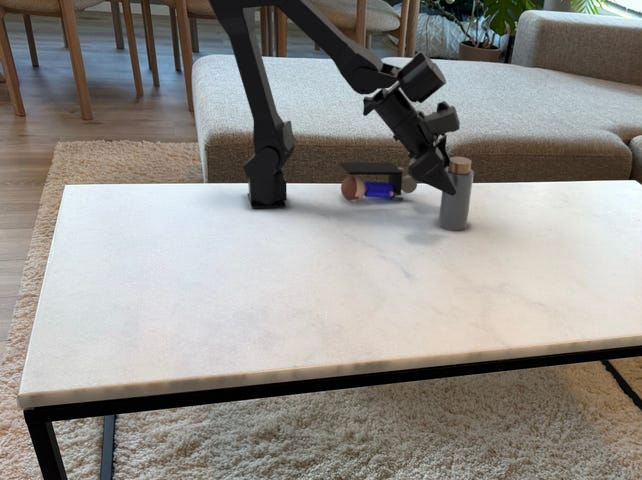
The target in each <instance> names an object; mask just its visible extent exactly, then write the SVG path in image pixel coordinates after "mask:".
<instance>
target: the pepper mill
mask: <svg viewBox="0 0 642 480" xmlns="http://www.w3.org/2000/svg"><path fill="white" fill-rule="evenodd" d="M472 163H473V162H472V160H471V159H470V158H467V157H464V156H450V159H449V166H448V167H446V168H445V169H444V170H445V172H446V174H447V175H448V177H449V179H450V181H451V182H452V184H453V186H454V188H455V190H456V194H455V195H453V196H451V195H449V194H447V193H445V192H443V191H441V196H440V197H441V198H440V205H439V214H438V223H437V224H438V226H440V228H442V229H445V230H448V231H453V232H454V231H456V232H457V231H458V232H459V231H463V230H466V228H467V227H468V219H469V211H470V204H471V196H472V191H473V190H472V189H473V183H474V175H475V171H474V170H473V169H472Z"/></svg>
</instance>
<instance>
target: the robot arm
mask: <svg viewBox="0 0 642 480" xmlns="http://www.w3.org/2000/svg"><path fill="white" fill-rule="evenodd" d="M207 1H208V3H209V6H210V8H211V10H212V12H213V14H214V16H215V19H216V20H217V22H218V24H219V25H220V26H221V28H222V29H223V30H224V32H225V33H226V34H227V37H228V39H229V42H230V45H231V50H232V52H233V56H234V59H235V62H236V66H237V69H238V73H239V77H240V79H241V84H242V86H243V89H244V92H245V96H246V100H247V102H248V106H249V110H250V113H251V117H252V120H253V133H252V143H253V149H254V153H253V155H252V156H251V157H250V158H249V159H248V161H246V162H245V164H244V165H243V167H242V168H243V171H244V173H245V175H246V178H247V184H248V185H247V186H248V187H247V188H248V193H247V199H248V202H249V205H250V208H251V209H274V208H275V209H276V208H277V209H278V208H280V209H281V208H286V206H287V204H286V201H287V200H288V197H287V189H288V188H287V179H286V177H285V176H284V172H283V170H282V168H283V167H284V166H285V165H286V164H287V163H288V162H289V160H290V158H291V157H292V155H293V153H294V151H295V144H296V143H297V141H298V140H297V138H296V137H295V136H294V133H293V124H292V121H291V120H287V121H284V120H283V119H282V117H281V116H280V115H279V113H278V110H277V106H276V104H275V103H276V102H275V100H274V95H273V93H272V92H273V91H272V88H271V85H270V82H269V78H268V75H267V71H266V67H265V64H264V60H263V57H262V53H261V48H260V45H259V42H258V38H257V35H256V29H255V26H256V8H260V7H263V8H264V7H276V8H278V9H279V10H280V11H281V12H282V13H283V14H284V15H285V16H286V17H287V18H288V19H289V20H290V21H291V22H292V23H294V24H295V25H296V26H297V27H298V28H299V29H300V30H301V31H302V32H303V33H304V34H305V35H306V36H307V37H308V38H309V39H311V40H312V42H314V43H315V44H316V45H317V46H318V47H319V48H320V49H321V50H322V51H323V52H324V53H325V54H326V55H327V56H329V58H330V59H331V60H332V62H333V64H334V65H335V67H336V68H337V71H338V72H339V73H340V75H341V76H342V78H343V79H344V80H345V82H346V83H347V84H348V85H349V87H350V88H351V89H352V90H353V91H354V92H355V93H356V94H358V95H361V96H363V95H365V96H364V98H363V99H362V102H363V103H362V104H363V111H362V115H363V116H364V117H367V116H368V115H369V114H370V113H372V112H373V111H375V112H376V114H377V115H378V116H379V117H380V118H381V120H382V121H383V123H385V125H386V126H387V127H388V128H389V130H390V131H391V132H392V134H393V135H392V138H393V139H394V141H395V142H398V141H399V142H400V143H401V144H402V146H403V147H404V148H405V149H406V151H407V157H408V158H409V159H410V160H409V164H408V171H407V173H408V176H411V177H412V179H413V180H414V181H416V182H417V183H423V184H425V185H428V186H430V187H433V188H435V189H436V190H439V191H441V192H442V191H443V192H445V193H447V194H449V195H451V196H453V195H455V194H456V190H455V188H454V186H453V184H452V182H451V181H450V179H449V177H448V175H447V174H446V172H445V170H444V169H445V168H446V167H448V166H449V159H450V158H451V156H450V154H449V152H448V150H447V148H446V147H447V139H448V138H447V137H448V135H447V134H448V133H454V132H457V131H459V130H460V129H461V128H460V125H461V123H460V119H459V116H458V113H457V109H456V107H455V106H454V105H449V104H448V103H447V102H446V100H443V101H440V102H437V106H436V111H432V113H430V114H427V115H426V114H425V113H424V112H423V110H416V108H415V107H414V106H413V105H412V103H417V102H418V103H419V104H423V103H424V102H425V101H427V100H428V99H429V98H431V96H432V95H434V94H435V93H436V92H438V90H440V89H441V88H443V87H444V86H445V85H446V84H447V80H446V77H445V75H444V73H443V72H442V70H441V69H440V67H439V66H438V65H437V64H436V62H434V61H433V60H432V59H431V58H430V57H429V56H427V55H426V54H425V52H424V51H423V50H419V51H418V52H417V53H415V55H414V56H413V57H412V58H411V60H409V61H408V62H407V63H406V64H405V65H404V66H402V67H400V66H396V65H393V64H390V63H386V62H383V61H382V59H381V58H380V56H378V55H376V53H373V51H370V50H369V49H368V48H366V47H365V46H363V45H361V44H360V43H358V42H355V41H353V40H352V39H350V38H349V37H348V36H346V35H345V34H344V33H343V32H342V31H341V30H340V29H339V28H338V27H337V26H336V25H334V23H333V22H332V21H331V20H330V19H328V17H326V16H325V15H324V13H322V12H321V11H320V10H319V9H318V7H316V6H315V5H314V4H313V3H312V2H311V1H310V0H207ZM377 90H378V91H377ZM376 91H377V92H376ZM374 93H375V94H374ZM371 94H374V95H373V96H366V95H371ZM440 136H441V137H440Z"/></svg>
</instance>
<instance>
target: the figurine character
mask: <svg viewBox="0 0 642 480" xmlns="http://www.w3.org/2000/svg"><path fill="white" fill-rule="evenodd" d="M339 166H340V167H341V168H342V169H343V170H344V171H345V172H346V173H347V174H348V175H349V176H347V177H346V178H344V179H343V181H342V182H341V184H340V191H341V195H342V197H344V198H345V200H347V201H349V202H358V201H360V200H362V198H364V197H366V198H385V199H390V200H400V201H401V200H404V199H405V197H402V192H403V193H405V194H412V193H414V192H415V190H416V189H417V187H418V181H414V180H413V179H412V177H411V176H410V175H409V174H408V171H407V170H406V169H404V168H403V167H401V166H400V167H399V166H398V167H397V166H396V165H395V164H394V163H392V162H370V161H369V162H368V161H367V162H366V161H365V162H363V161H361V162H359V161H348V162H347V161H340V162H339ZM364 175H365V176H388V178H387V179H388V180H387V182H384V181H383V182H382V181H368V180H366V181H363V179H361V178H360V177H358V176H364Z"/></svg>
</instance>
